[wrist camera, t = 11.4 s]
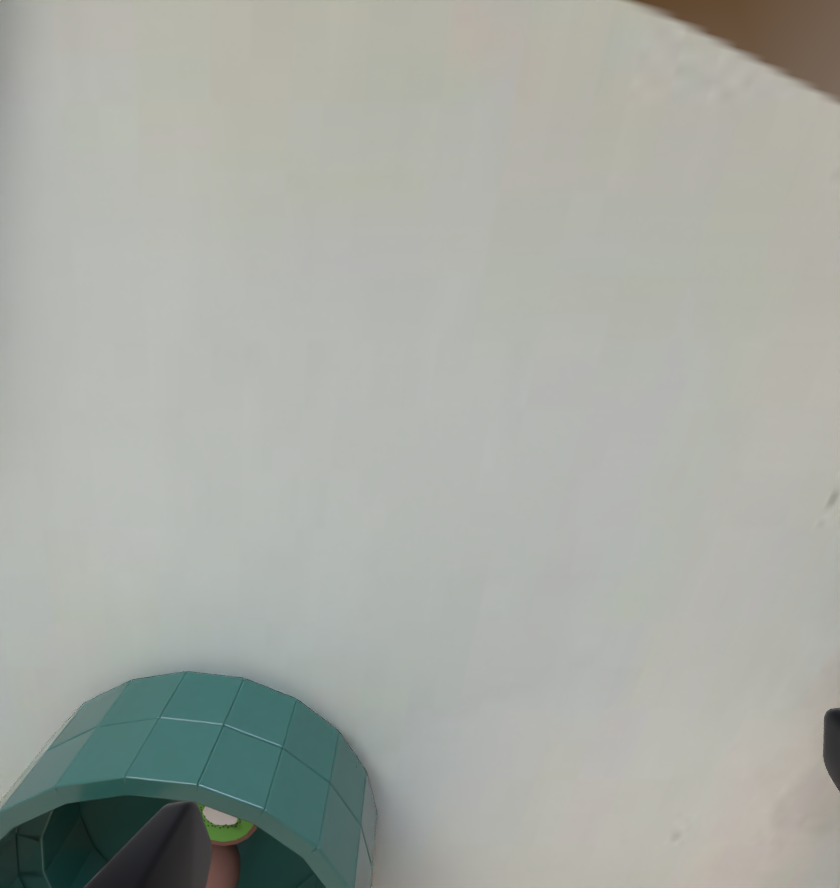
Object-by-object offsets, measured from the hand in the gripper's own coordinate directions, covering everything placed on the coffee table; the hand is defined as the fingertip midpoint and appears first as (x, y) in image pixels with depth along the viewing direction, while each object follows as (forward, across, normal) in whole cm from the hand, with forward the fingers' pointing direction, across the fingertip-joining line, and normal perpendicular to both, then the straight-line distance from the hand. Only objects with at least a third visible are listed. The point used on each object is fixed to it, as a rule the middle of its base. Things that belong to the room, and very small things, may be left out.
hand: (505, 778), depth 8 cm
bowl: (+12, +12, +12) cm, 21 cm away
